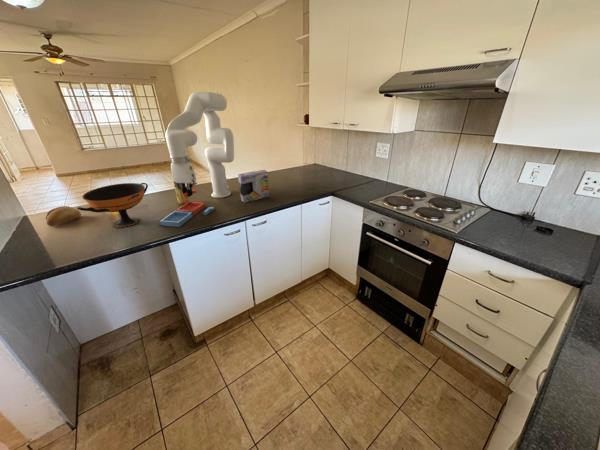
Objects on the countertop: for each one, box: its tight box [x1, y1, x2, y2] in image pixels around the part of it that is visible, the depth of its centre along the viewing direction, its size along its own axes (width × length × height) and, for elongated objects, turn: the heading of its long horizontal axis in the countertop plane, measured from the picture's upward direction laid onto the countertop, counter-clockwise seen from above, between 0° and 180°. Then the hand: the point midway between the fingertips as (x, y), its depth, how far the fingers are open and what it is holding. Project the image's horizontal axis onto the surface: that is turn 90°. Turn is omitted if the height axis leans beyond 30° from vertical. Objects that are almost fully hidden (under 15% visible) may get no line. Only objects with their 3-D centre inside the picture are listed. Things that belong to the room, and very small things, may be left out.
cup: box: [76, 182, 149, 228], centre depth 125 cm, size 36×26×18 cm
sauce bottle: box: [173, 183, 190, 206], centre depth 148 cm, size 7×6×20 cm
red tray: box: [175, 201, 206, 216], centre depth 143 cm, size 13×11×2 cm
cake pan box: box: [237, 169, 270, 204], centre depth 155 cm, size 19×5×18 cm, turn 123°
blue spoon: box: [202, 206, 215, 216], centre depth 141 cm, size 9×4×2 cm, turn 171°
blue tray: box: [159, 210, 194, 228], centre depth 131 cm, size 13×11×2 cm
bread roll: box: [45, 205, 82, 227], centre depth 129 cm, size 10×15×8 cm, turn 163°
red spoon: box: [183, 188, 198, 198], centre depth 128 cm, size 9×4×2 cm, turn 172°
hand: (188, 195), depth 127 cm, fingers closed on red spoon, 1 cm apart
